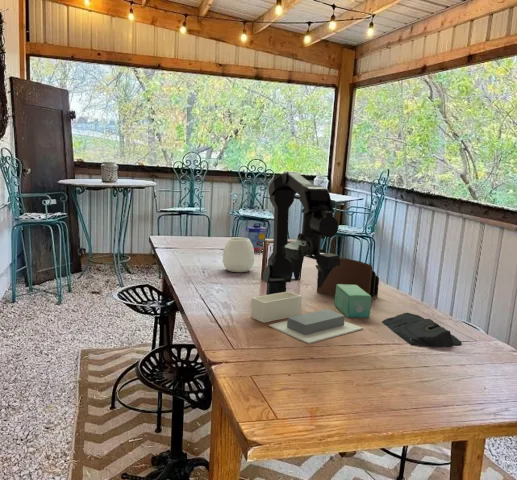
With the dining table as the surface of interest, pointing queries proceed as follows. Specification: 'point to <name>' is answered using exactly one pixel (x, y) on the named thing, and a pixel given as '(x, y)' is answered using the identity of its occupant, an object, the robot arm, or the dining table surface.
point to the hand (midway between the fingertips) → (307, 283)
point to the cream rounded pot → (238, 254)
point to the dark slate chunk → (420, 331)
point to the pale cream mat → (318, 335)
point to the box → (352, 301)
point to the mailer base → (276, 306)
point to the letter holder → (351, 278)
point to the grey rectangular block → (315, 321)
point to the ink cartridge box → (256, 236)
